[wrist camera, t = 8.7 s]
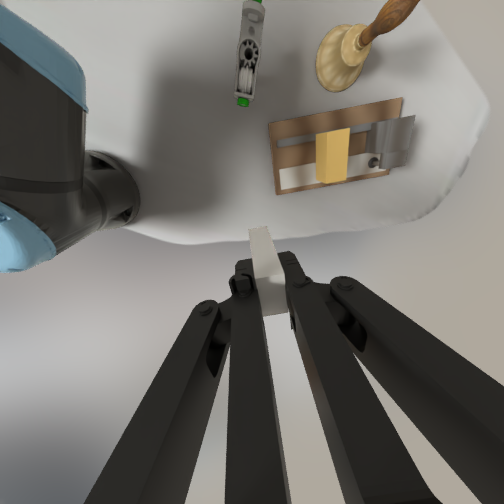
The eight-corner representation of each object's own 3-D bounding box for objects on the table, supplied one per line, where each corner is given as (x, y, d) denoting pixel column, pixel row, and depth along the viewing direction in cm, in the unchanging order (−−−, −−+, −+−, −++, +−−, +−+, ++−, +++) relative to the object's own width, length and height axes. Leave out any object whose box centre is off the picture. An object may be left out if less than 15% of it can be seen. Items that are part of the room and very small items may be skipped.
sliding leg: (314, 179, 39) (325, 183, 34) (314, 134, 35) (327, 132, 30) (332, 175, 38) (346, 180, 33) (333, 130, 35) (349, 127, 30)
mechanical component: (260, 39, 30) (269, -6, 21) (249, 116, 35) (253, 106, 26) (241, 34, 30) (242, -14, 21) (233, 113, 34) (232, 101, 26)
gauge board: (275, 193, 42) (283, 202, 35) (268, 124, 35) (275, 118, 28) (384, 173, 41) (413, 178, 34) (396, 99, 35) (436, 86, 28)
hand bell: (319, 24, 30) (392, -86, 16) (370, 25, 30) (485, -81, 16) (312, 92, 34) (364, 52, 20) (357, 92, 34) (439, 54, 20)
